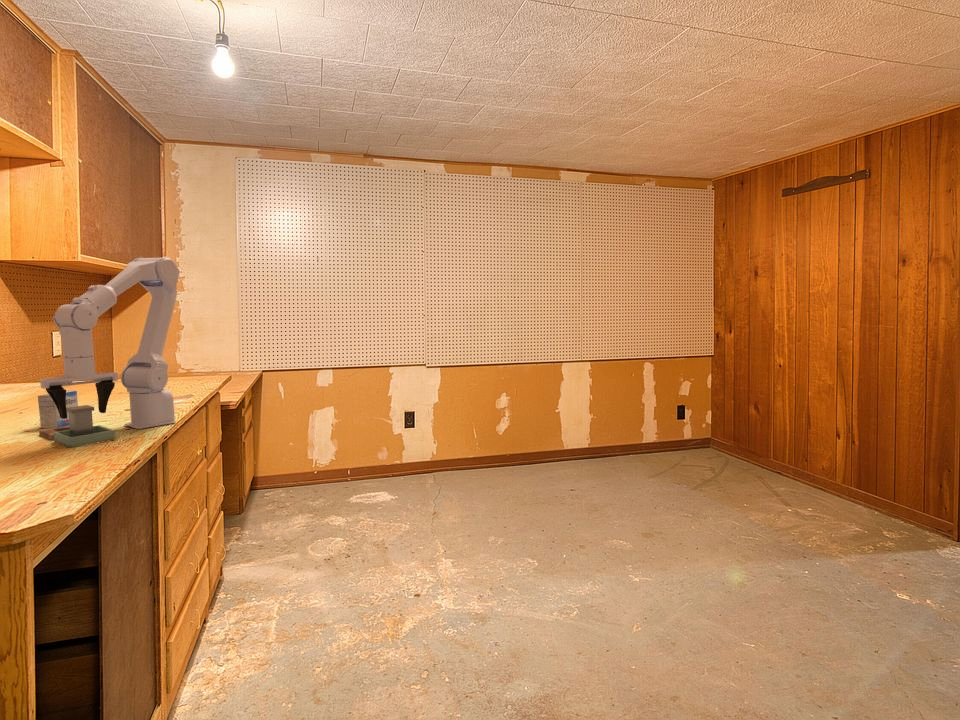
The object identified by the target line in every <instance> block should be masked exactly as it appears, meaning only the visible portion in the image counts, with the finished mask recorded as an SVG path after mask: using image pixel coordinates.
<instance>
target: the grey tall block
mask: <svg viewBox="0 0 960 720" xmlns="http://www.w3.org/2000/svg"><path fill="white" fill-rule="evenodd" d="M66 409H67V412H68V414H69V425H68V426H70V437H75V436H81V435H87V434H93V426H94V423H93V422H94V421H93V420H94V419H93V411H95V406H92V405H88V404H85V405H84V404H83V405H78V406H76V407H68V408H66Z"/></svg>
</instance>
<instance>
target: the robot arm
mask: <svg viewBox="0 0 960 720" xmlns="http://www.w3.org/2000/svg"><path fill="white" fill-rule="evenodd" d="M179 277H180V269H179V268H178V266H177V264H176V262H175V261H174V260H173V259H172V258H170V257H169V256H163V257H137V258H135V259H133V261H130V262H128V263H127V266H126V267H125V268H124V269H122V271H121V272H119V273H118V274H117V275H115V276H114V278H112V279H111V280H109V281H108V282H107V283H106V284H97V285H94V284H92V285H90V286H89V287H87V291H86V292H84V293H83V294H82V295H79V297H74V298H72V301H71V303H69V304H68V303H67V304H62V305H60V306H59V307H58V308H57V309H56V310H55V312H54V316H52V321H53V324H54V325H55V326H56V327H57V328H58V332H59V335H60V337H61V346H62V359H63V361H62V362H63V370H64V376H57V377H49V378H40V380H39V383H40V388H41V389H45V392H47V393H46V394H49V395H50V397H51V398H52V399H53V401H54V403H55V405H56V407H57V409H58V411H59V414H60V418H62V419H67V409H66V391H67V390H66V389H65V388H64V387H68V386H75V385H77V386H78V385H87V384H94V385H95V390H96V394H97V405H98V408H97V409H98V412H99V413H100V414H106V413H107V406H108V402H109V399H110V396H111V394H112V392H113V390H114V388H115V386H116V383H115V382H117V381H119V380H118V379H119V378H118V377H119V376H118V372H114V371H113V372H111V371H110V372H99V373H96V367H95V364H96V363H95V353H94V342H93V341H94V340H93V329H92V328H95V327H96V326H97V323H98V319H99V317H101V316H102V315H103V314H105V313H106V312H107V311H108V310H109V309H111V308H113V306H115V305H116V304H117V301H118V298H117V297H118V296H120V295H121V294H122V293H124V292H126V291H127V290H128V289H131V287H133V286H134V285H136V284H138V283H139V284H140V285H141V286H142V287H143V289H145V291H147V292H149V294H150V295H151V299H150V304H149V308H148V311H147V316H146V319H145V324H144V328H143V331H142V335H141V338H140V343H139V347H138V350H137V352H136V353H135V354H134V355H133V356H131V357H130V358H129V359H128V361H127V364H126V366H125V367H124V368H123V369H122V371H121V374H120V382H121V384H122V385H123V387H124V388H126V392H128V393H129V394H128V395H129V408H130V410H129V411H130V422H125V423H124V425H125V426H126V427H130V428H133V429H136V430H140V429H147V428H152V427H153V428H154V427H159V426H164V425H169V424H175V423H177V420H175V419H176V418H175V404H174V397H173V393H172V391H170V390H169V389H166V388H165V387H166V385H167V384H168V381H169V374H168V369H169V364H168V363H167V361H166V360H165V359H164V358H163V353H164V348H165V344H166V340H167V337H168V332H169V328H170V324H171V320H172V316H173V312H174V309H175V304H176V300H177V295H178V294H177V293H178V290H177V289H178V288H177V287H178V286H177V284H178V282H179V281H178V280H179ZM164 388H165V389H164Z"/></svg>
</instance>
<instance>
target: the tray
mask: <svg viewBox="0 0 960 720" xmlns="http://www.w3.org/2000/svg"><path fill="white" fill-rule="evenodd" d="M114 439H115V440H116V430H114V429H111V428H108V427H106V426H102V425H100V424H98V425H93V434H87V435H81V436H75V437H70V430H65V431H59V432H54V440H53V442H54V443H56V442H57V443H56V444H58V443H59V445H61V446H63V445H64V446H63V447H65V446H66V447H65V448H68V447H71V448H76V447H75V446H77V447H81V445H82V446H87V445H86V444H88V445H92V444H91V443H94V444H98V443H97V442H99V443H103V442H102V441H105V442H109V441H108V440H111V441H115V440H114Z"/></svg>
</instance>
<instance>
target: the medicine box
mask: <svg viewBox="0 0 960 720" xmlns="http://www.w3.org/2000/svg"><path fill="white" fill-rule="evenodd" d="M37 401H38V402H37V403H38V413H39V423H40V429H49V428H56V427H62V426H69V414H68V412H67V419H62V418H60V414H59V411H58V409H57V407H56V405H55V403H54V401H53V399H52V398H51V397H50V395H49V394H48V393H44V394H41V395H38V396H37ZM78 402H79V399H78V392H77V390H69V389H68V390H66V408H68V407H76V406H79V403H78Z"/></svg>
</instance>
